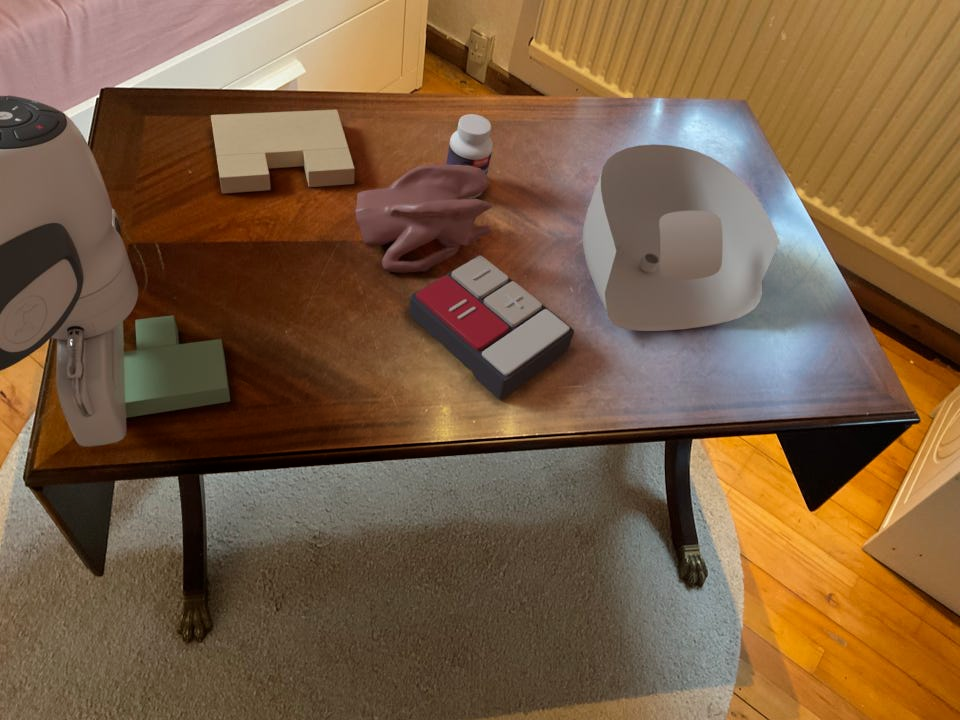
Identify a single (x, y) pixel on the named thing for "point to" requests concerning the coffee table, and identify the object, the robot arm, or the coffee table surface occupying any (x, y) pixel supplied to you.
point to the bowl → (675, 240)
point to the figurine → (424, 214)
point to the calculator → (491, 325)
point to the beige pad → (280, 148)
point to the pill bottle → (471, 143)
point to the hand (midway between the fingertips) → (115, 382)
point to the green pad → (172, 370)
